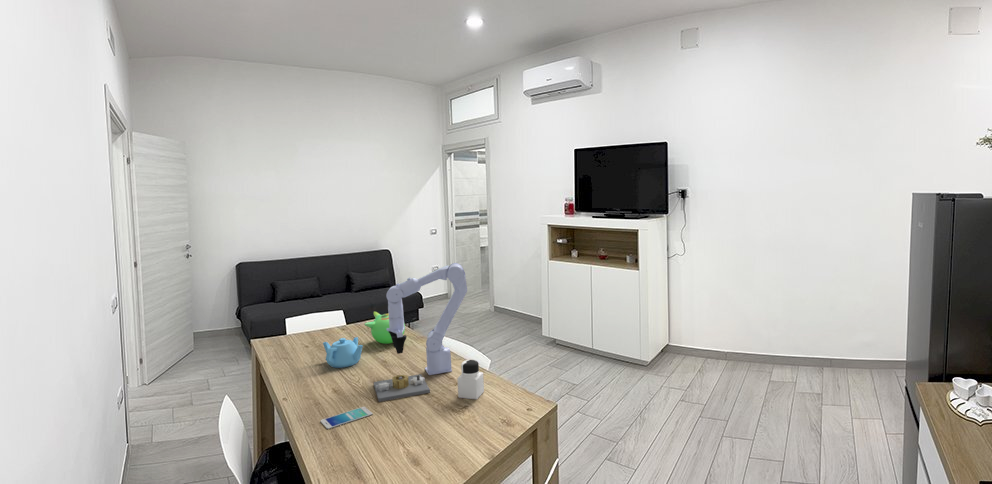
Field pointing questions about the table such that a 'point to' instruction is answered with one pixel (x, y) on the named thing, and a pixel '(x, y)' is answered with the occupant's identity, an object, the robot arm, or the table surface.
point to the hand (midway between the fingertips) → (398, 350)
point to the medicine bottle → (470, 380)
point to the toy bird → (380, 328)
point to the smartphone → (346, 417)
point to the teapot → (343, 353)
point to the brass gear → (400, 382)
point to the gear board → (388, 392)
